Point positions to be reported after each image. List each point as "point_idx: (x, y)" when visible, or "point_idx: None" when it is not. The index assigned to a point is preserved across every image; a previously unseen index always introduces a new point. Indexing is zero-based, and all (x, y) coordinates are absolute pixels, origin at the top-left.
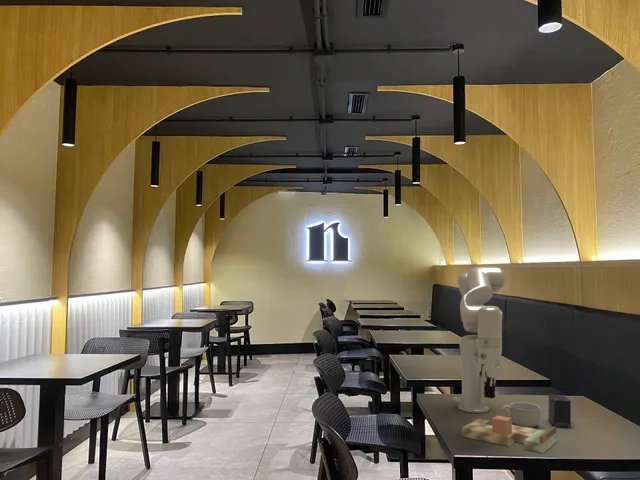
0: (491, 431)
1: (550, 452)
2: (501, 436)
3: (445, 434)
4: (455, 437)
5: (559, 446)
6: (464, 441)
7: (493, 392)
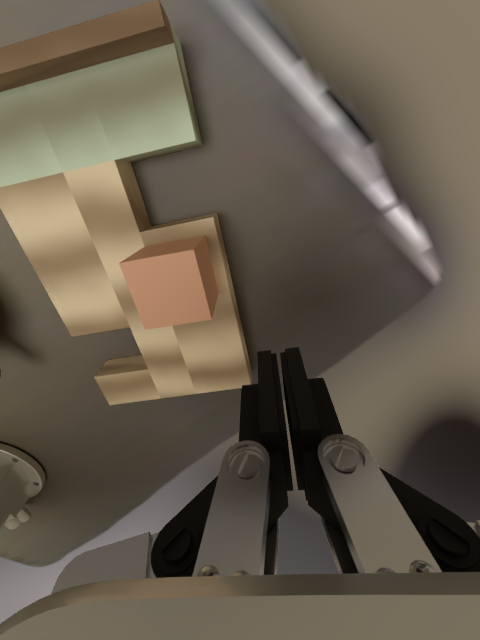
0: None
1: None
2: (221, 250)
3: None
4: None
5: None
6: (290, 339)
7: (299, 377)
